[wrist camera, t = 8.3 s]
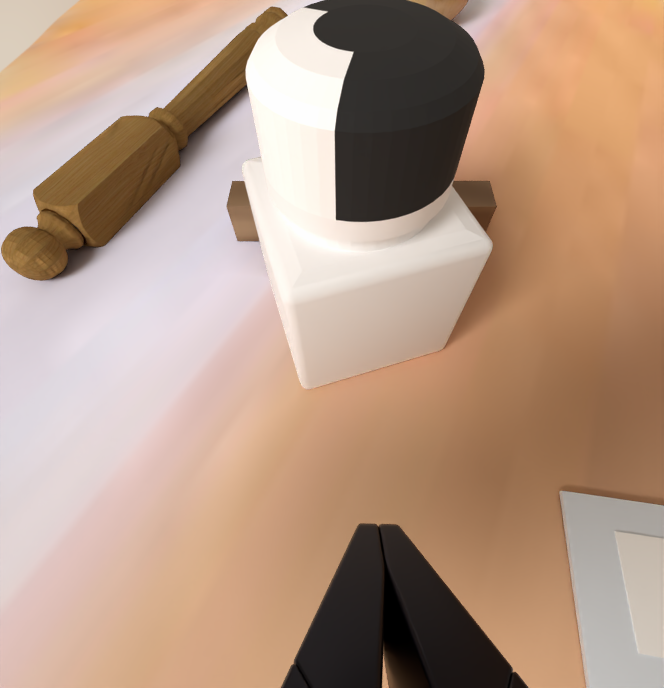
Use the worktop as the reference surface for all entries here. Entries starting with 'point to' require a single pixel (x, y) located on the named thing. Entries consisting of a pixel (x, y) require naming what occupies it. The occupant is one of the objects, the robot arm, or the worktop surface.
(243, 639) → the worktop surface
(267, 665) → the worktop surface
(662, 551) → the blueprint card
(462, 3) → the onion
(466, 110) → the medicine bottle
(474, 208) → the stop bar
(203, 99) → the tap handle
